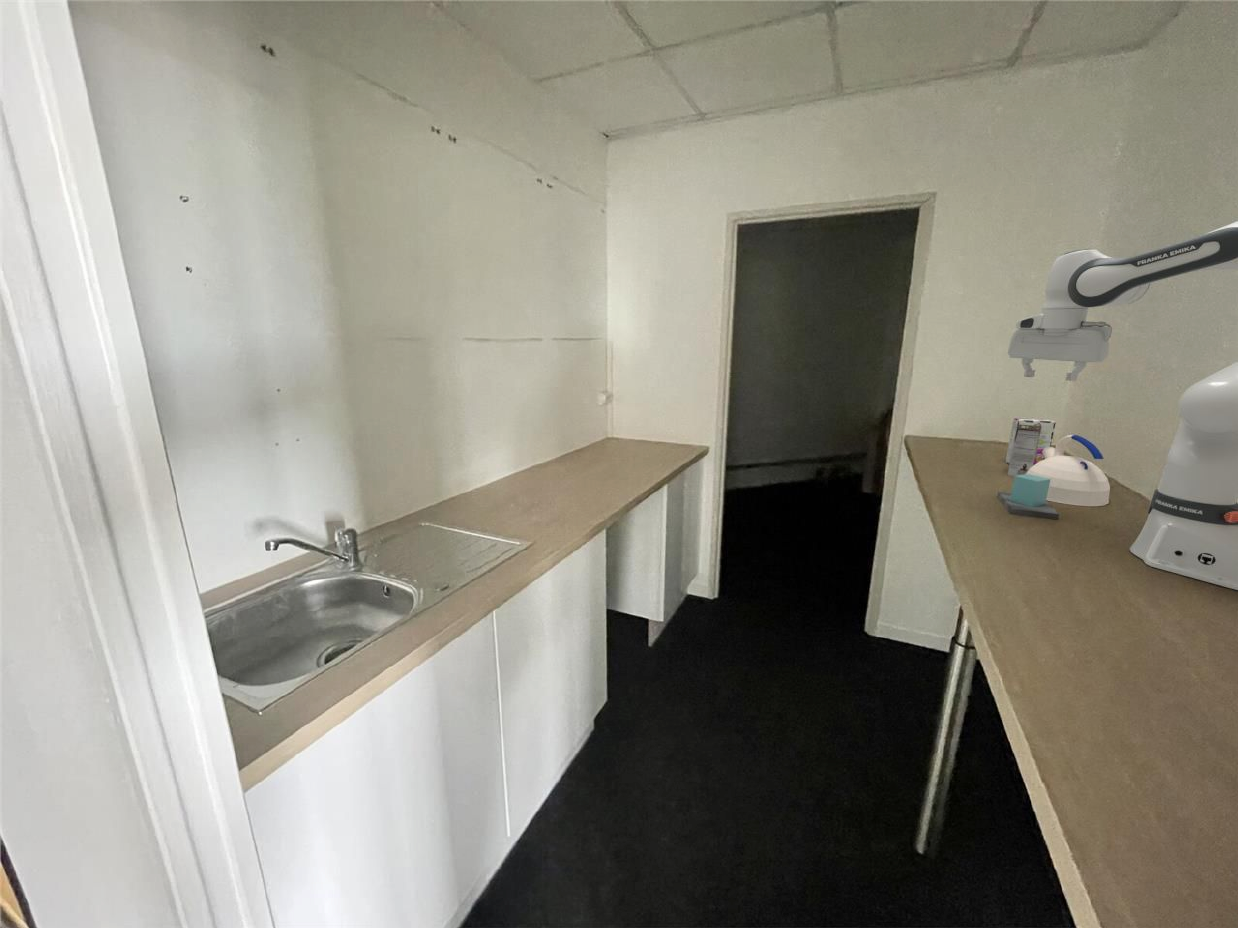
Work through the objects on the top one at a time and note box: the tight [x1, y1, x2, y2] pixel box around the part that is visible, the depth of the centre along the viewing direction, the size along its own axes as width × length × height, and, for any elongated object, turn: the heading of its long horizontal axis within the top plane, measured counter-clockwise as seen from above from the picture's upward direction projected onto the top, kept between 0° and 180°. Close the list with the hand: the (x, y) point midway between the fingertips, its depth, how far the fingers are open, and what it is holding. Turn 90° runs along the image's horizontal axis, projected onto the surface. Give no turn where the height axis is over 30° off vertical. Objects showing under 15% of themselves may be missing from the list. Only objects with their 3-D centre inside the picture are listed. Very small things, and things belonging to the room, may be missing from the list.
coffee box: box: [1007, 424, 1041, 477], centre depth 172 cm, size 9×6×16 cm
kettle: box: [1026, 434, 1111, 507], centre depth 151 cm, size 20×21×18 cm
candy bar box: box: [1005, 418, 1057, 466], centre depth 184 cm, size 11×5×16 cm, turn 73°
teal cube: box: [1010, 474, 1051, 507], centre depth 141 cm, size 6×6×7 cm
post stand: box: [996, 491, 1060, 521], centre depth 141 cm, size 16×10×8 cm, turn 156°
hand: (1049, 378), depth 131 cm, fingers open, 8 cm apart
